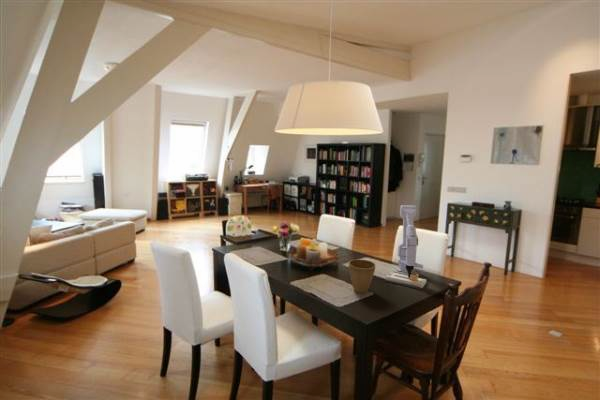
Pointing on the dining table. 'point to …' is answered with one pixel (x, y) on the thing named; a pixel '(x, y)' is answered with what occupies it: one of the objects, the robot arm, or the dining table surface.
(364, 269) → the plant pot
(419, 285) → the white slider switch panel
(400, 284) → the dressed cords
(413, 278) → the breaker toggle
